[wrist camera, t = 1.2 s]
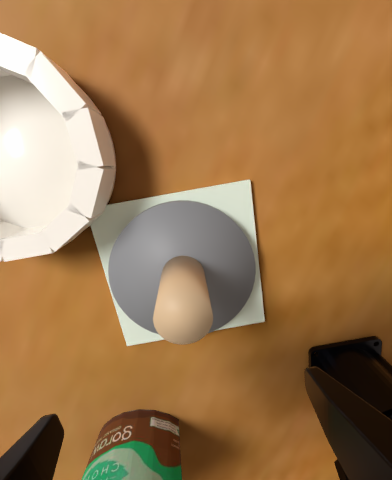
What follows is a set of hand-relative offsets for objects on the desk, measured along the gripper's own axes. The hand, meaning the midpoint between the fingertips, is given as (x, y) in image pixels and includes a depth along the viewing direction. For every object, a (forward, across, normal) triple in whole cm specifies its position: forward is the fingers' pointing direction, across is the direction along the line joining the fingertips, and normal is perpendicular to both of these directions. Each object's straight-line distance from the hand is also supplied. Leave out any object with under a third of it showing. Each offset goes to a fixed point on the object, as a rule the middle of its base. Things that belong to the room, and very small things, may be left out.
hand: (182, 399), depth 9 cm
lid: (+11, 0, 0) cm, 11 cm away
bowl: (+11, +9, -10) cm, 18 cm away
